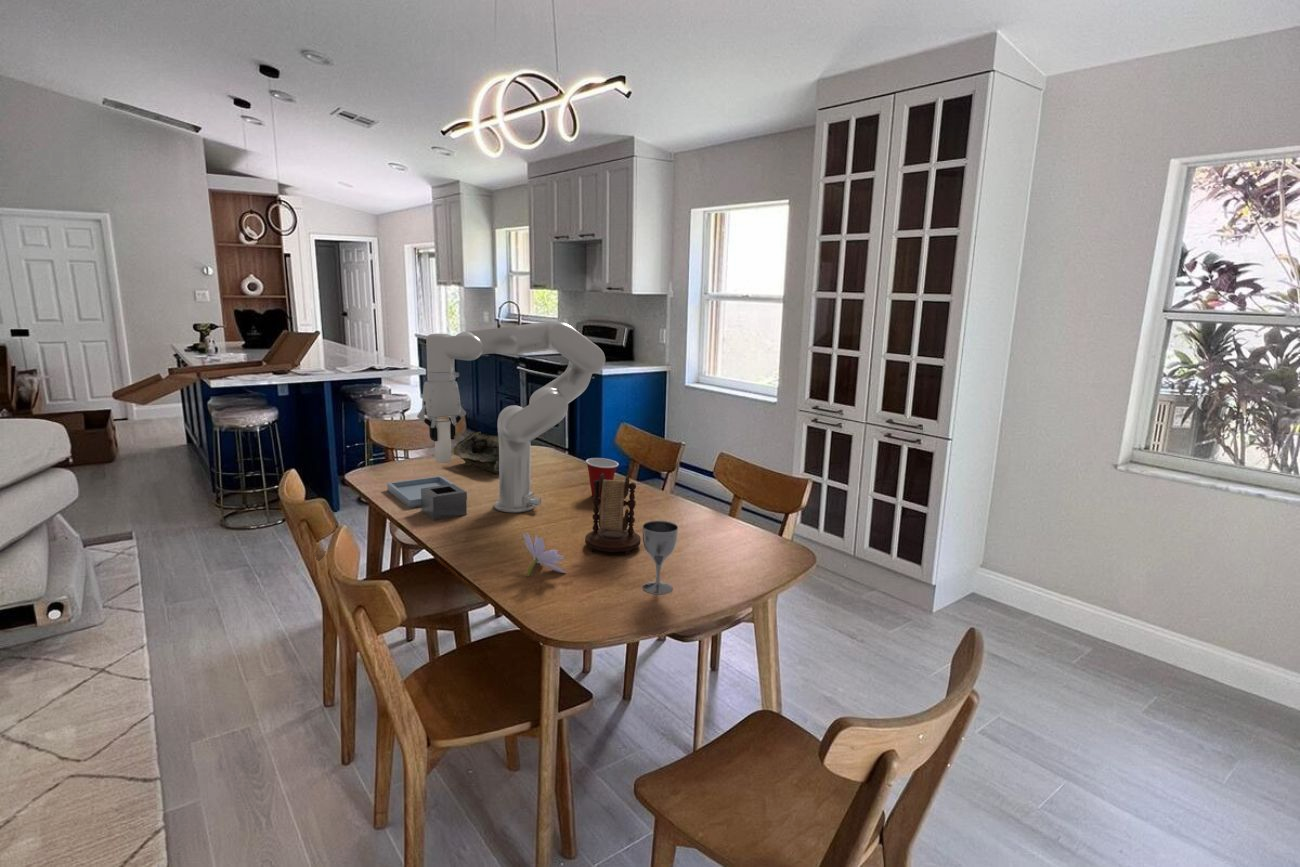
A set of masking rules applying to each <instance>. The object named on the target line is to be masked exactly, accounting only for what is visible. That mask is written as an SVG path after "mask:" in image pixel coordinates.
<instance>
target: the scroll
mask: <svg viewBox="0 0 1300 867" xmlns="http://www.w3.org/2000/svg"><path fill="white" fill-rule="evenodd" d="M593 485H594V486H595V487H594V489H595V491H594V496H595V497H593V496H592V497H593V498H592V504H593V506H594V508H593V510H592V512H593V514H592V520H593V521H592V523H593V525H592V531H590V532H588V533H586V535H585V536H584V537H585V539H584V543H585V545H586V546H587V547H589V551H590V552H593V551H594V550H597V551H601V552H602V551H603V552H608V553H613V552H614V553H617V552H624V553H625V555H626V556H628V555H629V553H630V551H631V550H634V549H637V548H638V547H639V546H640V545H641V539H642V538H641V536H640V535H639V534H638V533H636V532H635V529H634V527H633V526H634V525H635V524H634V523H635V522H636V518H635V517H634V516H635V512H634V511H635V510H634V509H635V507H636V500H635V498H636V497H635V496H636V495H635V493H636V490H635V489H636V488H637V485H636V483H635V482H631V483H630V476H629V475H628V474H627V475H626V476H625V479H624V480H617V479H616V480H614V479H613V480H605V478H604V474H603V473H602V474H601V476H600V480H595V481H594V482H593ZM598 489H599V490H598ZM599 493H600V494H601V499H600V498H599ZM628 495H629V496H628ZM627 497H628V498H629V500H626V499H627ZM599 506H600V508H599ZM626 506H627V507H628V508H626V509H625V512H624V507H626Z"/></svg>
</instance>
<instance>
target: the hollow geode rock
mask: <svg viewBox="0 0 1300 867" xmlns="http://www.w3.org/2000/svg"><path fill="white" fill-rule="evenodd" d="M452 453H453V455H454V456H456V457H458V458H460V459H461V460H463V461H464V463H465V464H464V465H465V466H472V465H475V466H479V467H481V468H483V469H484V470H487V471H489V472H492V473H494V474H497V475H499V438H498V434H497V435H493V434H492V435H488V434H486V433H481V431H474V432H472V433H470V434H469V435H467V436H466V437H464V439H463V440H461V441H459V442H457V443H456V445H455V446H454V448H453V450H452Z"/></svg>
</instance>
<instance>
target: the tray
mask: <svg viewBox="0 0 1300 867" xmlns="http://www.w3.org/2000/svg"><path fill="white" fill-rule="evenodd" d="M386 484H387V485H386V486H387V488H386V489H387V491H388V492H389V493H391V494H392V496H394V497H395V498H396V499H398V500H399V501H400V502H401V503H403V504H404V505H406V506H407V507H408V508H409V509H416V508H421V488H428V487H435V486H442V485H449V484H454V485H456V486H457V487H459V488H461V487H460V486H459V485H457V484H455V483H453V482H452V481H450V480H449V479H447V478H446V477H444V476H442V475H437V476H430V477H423V478H422V477H421V478H414V479H408V480H399V481H392V482H391V481H389V482H387V483H386ZM461 489H462V490H464V491H465V492H466V500H467V499H468V492H467V491H466V490H465V489H463V488H461Z"/></svg>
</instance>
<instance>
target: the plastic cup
mask: <svg viewBox="0 0 1300 867" xmlns="http://www.w3.org/2000/svg"><path fill="white" fill-rule="evenodd" d="M585 462H586V465H587V470H588V478H589V485H590V490H591V495H592V497H595V496H594V491H595V489H594V487H595V486H594V485H593V482H594V481H595V480H600V476H601V474H602V473H603V474H604V478H605V480H614V478H615V473H616V471H617V468H618V466H619V462H618V461H616V460H613V459H610V458H602V457H591V458H587V459H586V460H585ZM598 490H599V489H598ZM599 498H600V499H601V494H600V493H599Z"/></svg>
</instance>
